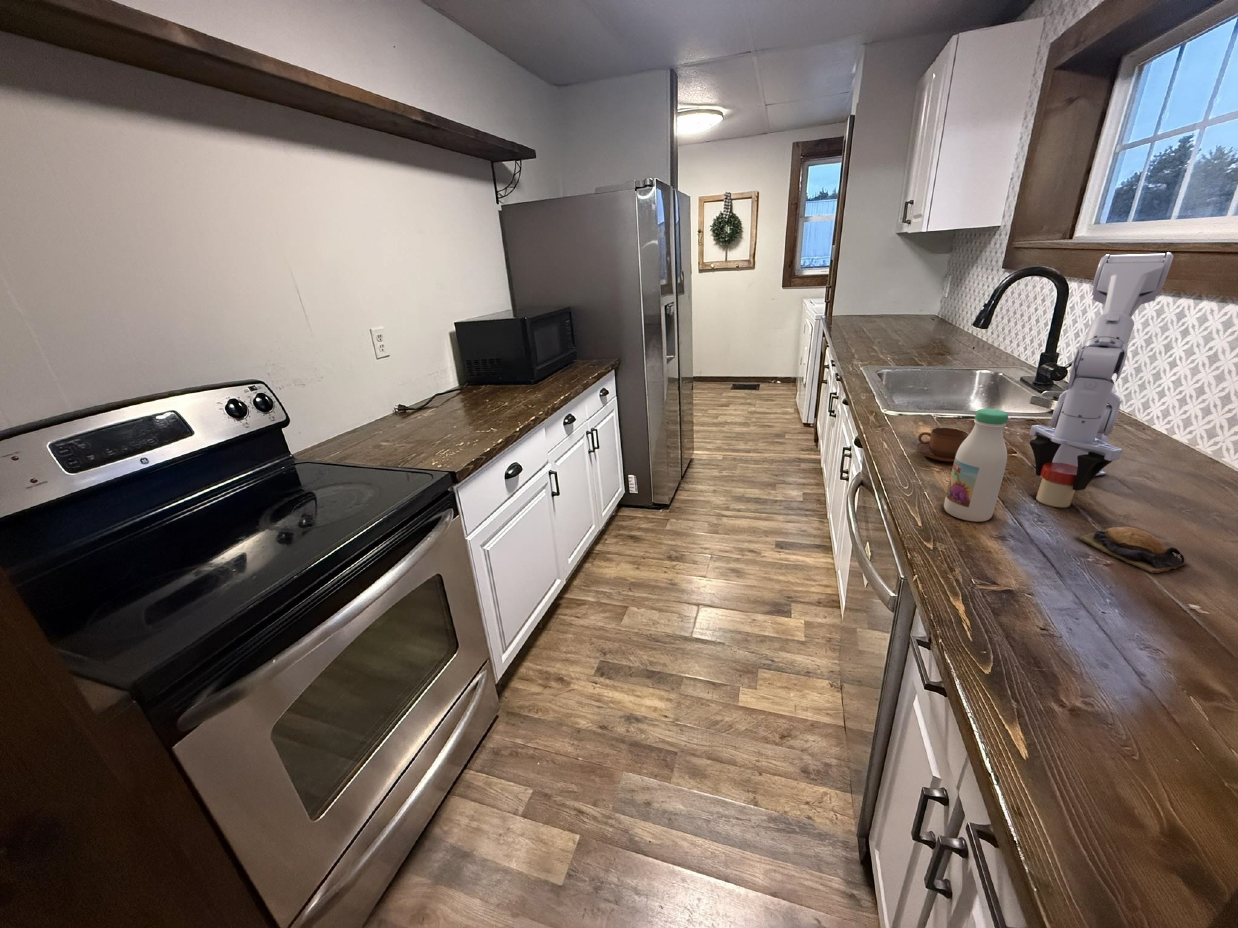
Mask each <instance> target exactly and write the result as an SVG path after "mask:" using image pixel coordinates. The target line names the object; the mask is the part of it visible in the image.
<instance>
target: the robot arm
mask: <svg viewBox="0 0 1238 928" xmlns="http://www.w3.org/2000/svg"><path fill="white" fill-rule="evenodd" d="M1174 257H1175V255H1173V254H1172V252H1166V253H1145V254H1144V253H1143V254H1142V253H1141V254H1110V253H1108V254H1105V255H1104V256H1102V257H1101V258H1100V260H1099V261H1098V262H1099V263H1098V265H1097V269H1096V272H1095V275H1094V279H1093V283H1092V286H1093V287H1092V292H1091V295H1092V300H1093V301H1095V302H1097V303H1099V304H1101V305H1102V311H1103V312H1102V314H1100V315H1098V316H1096V317H1095V318H1093V319H1092V320H1091V322H1090V325H1089V327H1088V329H1087V332H1086V335H1085V337H1084V340H1083V343H1082V346H1081V348H1077V350H1076V351H1075V354H1074V357H1073V359H1072V363H1071V366H1070V370H1069V379H1068V383H1067V387H1066V388H1067V389H1066V390H1064V391H1062V393H1061V394H1059V397H1058V399H1057V401H1056V403H1055V405H1054V409H1053V412H1052V414H1051V418H1050V422H1049V425H1050V426H1046V425H1042V424H1036V425H1035V424H1034V425H1031V426H1030V427H1031V428H1030V430H1029V434H1028V435H1029V436H1031V437H1035V438H1034V439H1030V440H1029V446H1030V447H1031V450H1032V453H1033V456H1034V467H1035V476H1038V477H1042V476H1041V470H1042V467H1043V465H1044V464H1045V463H1050V462H1056V463H1065V464H1069V465H1073V466H1076V467H1078V468H1077V474H1076V477H1075V480H1074V484H1073V490H1075V492H1079V491H1085V490H1086V489H1087V487H1088V485H1089V484H1090V483H1091V482H1092V480H1093V479H1094V478H1095V477H1098V476H1103V475H1106V472H1105V471H1103V469H1104V468H1106V466H1108V465H1109V464H1111V463H1113V462H1114V461H1118V460H1120V457H1121V455H1122V453H1123V448H1120V447H1116V446H1113V445H1112V444H1110V443H1111V442H1110V439H1109V437H1108V435H1111V434H1112V432H1113V429H1114V427H1115V424H1116V422H1117V419H1118V418H1117V417H1118V415H1119V412H1120V407H1121V405H1122V400H1121V397H1120V396H1119V395H1118V394H1116V393H1115V392H1114V391H1113V389H1114V385H1115V383H1117V382H1118V380H1119V379H1120V378H1121V374H1122V372H1123V368H1124V366H1125V364H1126V360H1127V357H1128V350H1129V349H1128V348H1129V341H1130V339H1131V336H1132V333H1133V330H1134V328H1135V321H1134V319H1133V316H1134V314H1135V313H1136V312H1137V310H1138V309H1139V308H1140V307H1141V306H1142V305H1145V304H1148V303H1151V302H1155V301H1156V298H1157V297H1159V295H1160V292H1161V290H1162V288H1163V287H1164V285H1165V282H1166V279H1167V277H1168V274H1169V271H1170V268H1171V266H1172V264H1173V263H1172V262H1173V260H1174ZM1114 375H1116V378H1115V382H1114V380H1113V376H1114Z"/></svg>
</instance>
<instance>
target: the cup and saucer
mask: <svg viewBox="0 0 1238 928" xmlns="http://www.w3.org/2000/svg"><path fill="white" fill-rule="evenodd" d="M924 436H928V437H929V440H926V441H924V440H923V439H922V437H924ZM968 436H969V433H968V432H966V431H964V430H961V429H957V428H951V427H935V428H933V429H932V430H931V432H926V431H924V432H920V433H919V435H918V437H917V440H918V442H919V443H918V444H917V445H916V449H917V451H918V452H919V453H920V454H921V455H923V456H924V457H926V458H929V459H932V460H935V461H939V462H946V463H954V460H955V457H956V454H957V451H958V449H959V447H960V445H961V444H962V442H963V441H964V440H965V439H966V438H967V437H968Z"/></svg>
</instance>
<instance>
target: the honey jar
mask: <svg viewBox="0 0 1238 928" xmlns="http://www.w3.org/2000/svg"><path fill="white" fill-rule="evenodd" d="M1075 493H1076V490H1073V485H1067V484H1060V483H1055V482H1051V481H1049V480H1046V479H1044V478H1043V477H1042V476H1041V480H1040V484H1039V487H1038V489H1037V494H1036V496H1035V498H1036V501H1038V502H1039V503H1041V504H1044V505H1045V506H1050V507H1054V508H1068V507H1070V506H1071V504H1072V502H1073V500H1074V496H1075Z"/></svg>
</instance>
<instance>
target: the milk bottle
mask: <svg viewBox="0 0 1238 928" xmlns="http://www.w3.org/2000/svg"><path fill="white" fill-rule="evenodd" d="M1008 419H1009V413H1008V412H1006V411H1004V410H1001V409H994V408H980V409H977V410H976V412H975V415H974V420H973V422H974V426H973V428H972V429H971V431H970V433H968V437H967V438H966V439H965V440H964V441H963V442H962V444H961V445H960V447H959V449H958V451H957V454H956V457H955V460H954V462H953V465H952V469H951V473H950V476H949V481H948V485H947V489H946V493H945V497H944V502H943V508H944V511H945V512H946V513H947V514H948V515H950V516H952V517H954V518H957V519H960V520H964V521H969V522H976V523H977V522H986V521H988V520H990V519H991V518H992V517H993V515H994V512H995V508H996V506H997V500H998V498H999V493H1000V491H1001V485H1002V483H1003V478H1004V475H1005V470H1006V466H1007V462H1008V449H1007V446H1006V443H1005V439H1004V427H1006V426H1007V422H1008Z"/></svg>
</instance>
